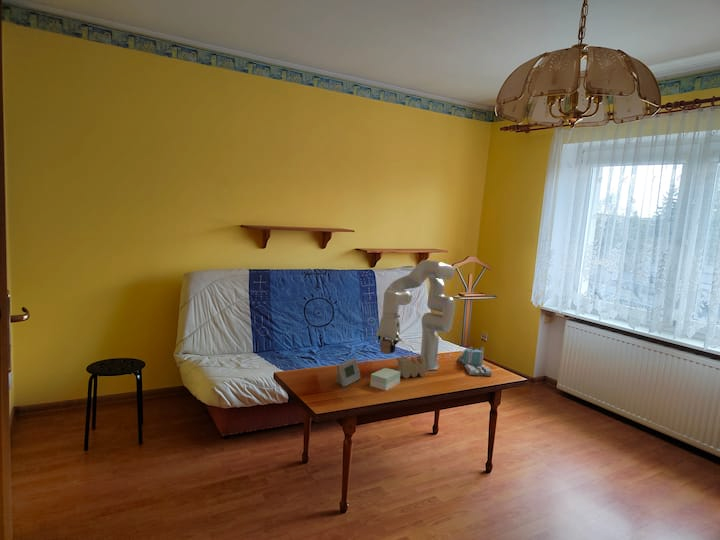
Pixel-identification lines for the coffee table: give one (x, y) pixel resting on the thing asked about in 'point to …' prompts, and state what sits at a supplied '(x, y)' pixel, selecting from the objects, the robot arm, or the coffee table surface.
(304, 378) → the coffee table surface
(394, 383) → the base brick
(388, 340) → the walnut brick
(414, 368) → the toy train
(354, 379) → the digital clock
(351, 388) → the coffee table surface
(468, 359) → the truck
